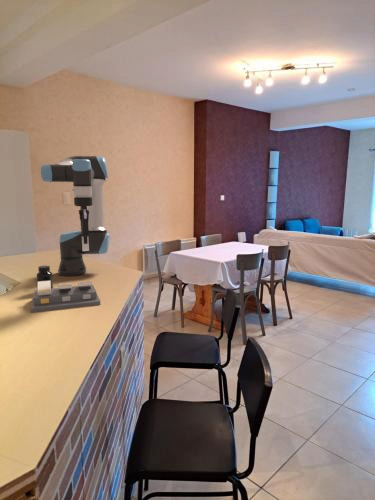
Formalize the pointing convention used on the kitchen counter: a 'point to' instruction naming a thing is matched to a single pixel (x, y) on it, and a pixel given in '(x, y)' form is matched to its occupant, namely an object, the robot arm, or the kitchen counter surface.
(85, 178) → the robot arm
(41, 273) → the supplement bottle
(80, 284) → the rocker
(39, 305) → the switch unit
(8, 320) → the kitchen counter surface
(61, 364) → the kitchen counter surface
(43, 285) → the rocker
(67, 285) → the rocker
